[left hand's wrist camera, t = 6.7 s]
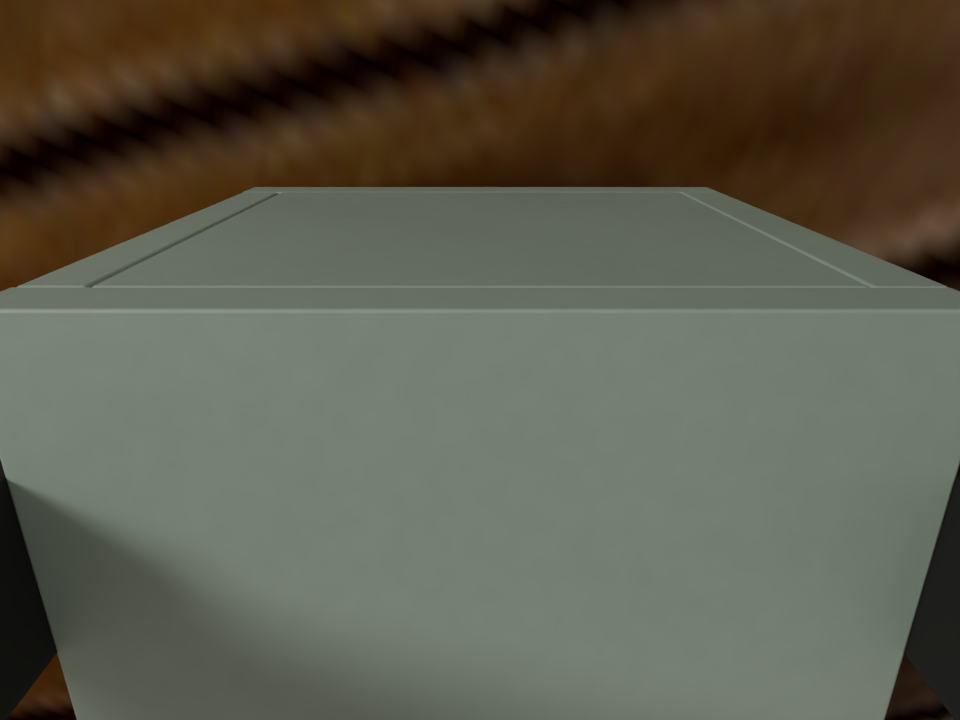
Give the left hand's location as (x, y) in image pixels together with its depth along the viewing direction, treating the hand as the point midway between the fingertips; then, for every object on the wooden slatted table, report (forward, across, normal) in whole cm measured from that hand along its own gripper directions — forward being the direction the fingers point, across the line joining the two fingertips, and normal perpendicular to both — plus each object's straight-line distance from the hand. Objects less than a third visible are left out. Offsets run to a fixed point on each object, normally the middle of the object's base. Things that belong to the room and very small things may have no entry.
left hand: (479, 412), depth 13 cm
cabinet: (+6, 0, -7) cm, 9 cm away
